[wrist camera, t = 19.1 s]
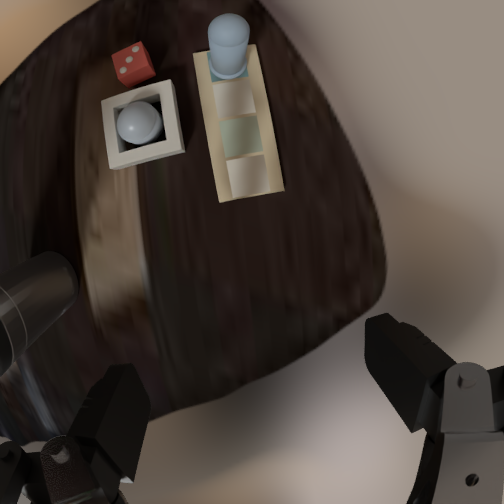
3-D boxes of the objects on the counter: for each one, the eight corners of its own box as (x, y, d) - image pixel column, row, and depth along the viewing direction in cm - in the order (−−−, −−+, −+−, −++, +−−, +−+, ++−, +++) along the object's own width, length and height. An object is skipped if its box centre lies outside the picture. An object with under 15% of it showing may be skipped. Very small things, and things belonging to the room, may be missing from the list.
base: (118, 169, 33) (109, 168, 30) (109, 106, 31) (101, 100, 28) (185, 151, 33) (181, 149, 30) (174, 86, 31) (170, 79, 28)
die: (128, 88, 30) (117, 79, 26) (121, 65, 29) (111, 55, 25) (156, 75, 30) (148, 64, 26) (148, 53, 29) (140, 40, 25)
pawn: (212, 82, 31) (207, 44, 20) (207, 52, 29) (200, 8, 19) (249, 76, 31) (258, 37, 20) (243, 47, 30) (249, 2, 19)
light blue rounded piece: (128, 150, 32) (112, 145, 27) (123, 114, 31) (107, 104, 25) (166, 139, 32) (155, 132, 27) (160, 103, 31) (149, 90, 26)
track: (219, 202, 35) (219, 202, 34) (193, 56, 30) (193, 53, 29) (283, 190, 35) (284, 190, 35) (254, 46, 30) (255, 44, 30)
